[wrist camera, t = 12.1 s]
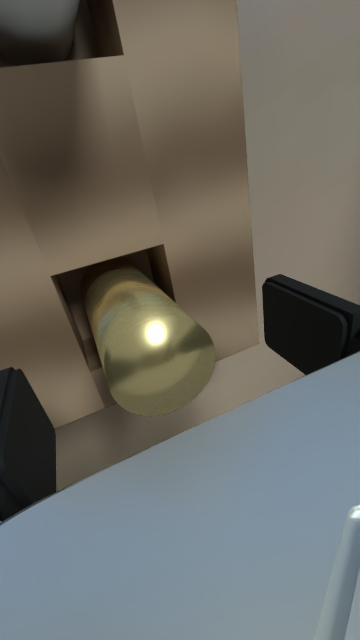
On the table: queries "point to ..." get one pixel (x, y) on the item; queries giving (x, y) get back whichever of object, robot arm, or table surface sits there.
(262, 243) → the table surface
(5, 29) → the grey pin
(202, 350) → the brass pin
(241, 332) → the bore block
